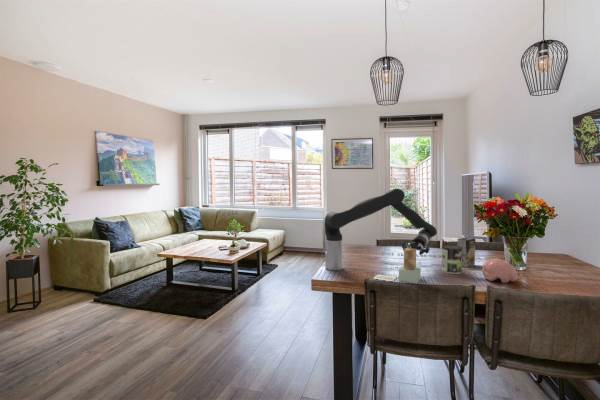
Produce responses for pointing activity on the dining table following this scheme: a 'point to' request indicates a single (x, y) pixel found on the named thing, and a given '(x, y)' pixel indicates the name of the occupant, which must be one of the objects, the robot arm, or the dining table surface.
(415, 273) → the base brick
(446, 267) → the coffee can
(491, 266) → the pink piggy bank
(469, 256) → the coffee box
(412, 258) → the tan cylinder
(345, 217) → the robot arm
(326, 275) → the dining table surface
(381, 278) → the page
